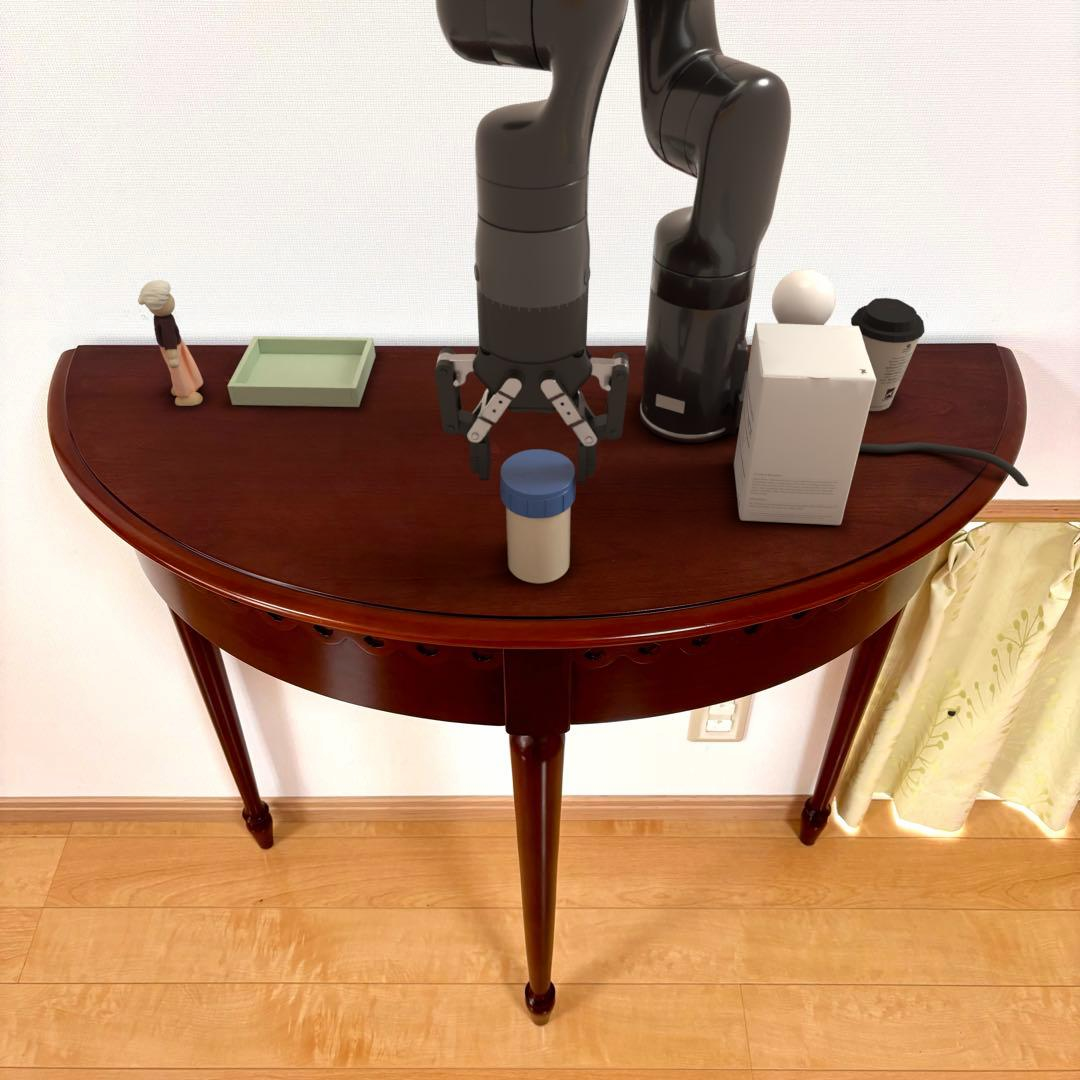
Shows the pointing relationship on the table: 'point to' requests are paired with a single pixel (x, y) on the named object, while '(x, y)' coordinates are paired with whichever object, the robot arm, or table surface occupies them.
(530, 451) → the lid
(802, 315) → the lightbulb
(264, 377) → the tray
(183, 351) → the grandmother figurine
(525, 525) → the jar
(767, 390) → the rectangular carton
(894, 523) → the table surface
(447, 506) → the table surface
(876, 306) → the coffee cup
